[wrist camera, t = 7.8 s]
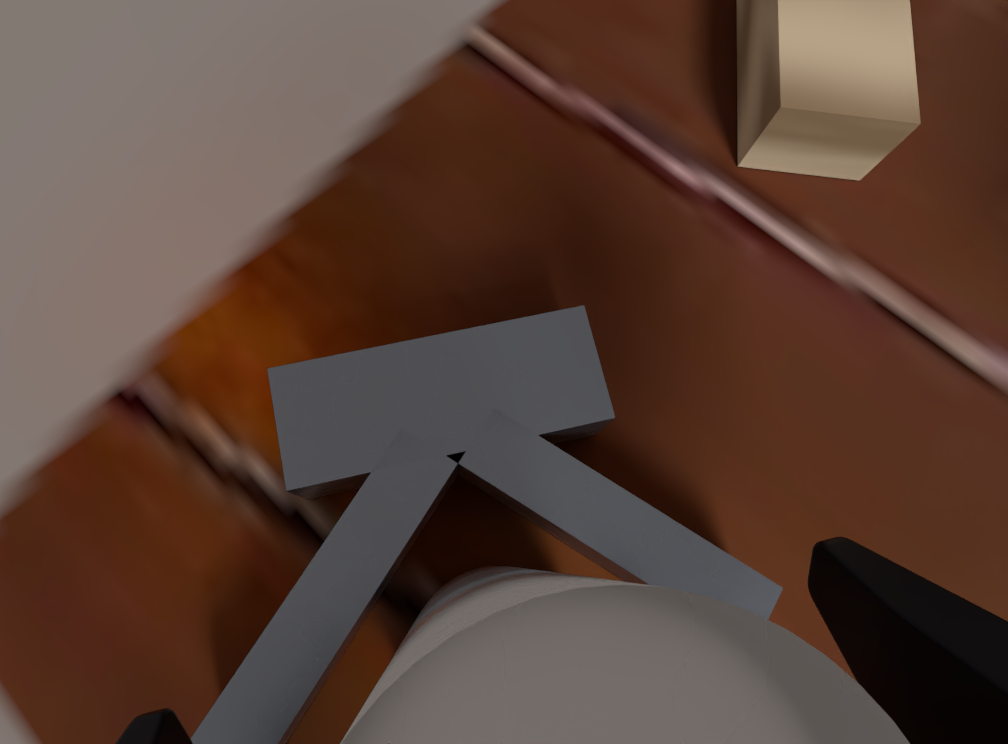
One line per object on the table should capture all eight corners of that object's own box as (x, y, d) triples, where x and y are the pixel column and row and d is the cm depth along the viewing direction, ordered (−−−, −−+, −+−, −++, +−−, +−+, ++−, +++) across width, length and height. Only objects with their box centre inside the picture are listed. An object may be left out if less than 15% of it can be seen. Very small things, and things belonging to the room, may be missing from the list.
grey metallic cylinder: (532, 795, 17) (847, 1734, 3) (372, 697, 17) (80, 1197, 4) (616, 621, 18) (1093, 807, 5) (465, 532, 18) (499, 462, 5)
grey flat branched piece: (753, 627, 18) (798, 638, 16) (230, 768, 17) (192, 804, 14) (659, 316, 20) (686, 284, 18) (187, 413, 19) (147, 392, 16)
